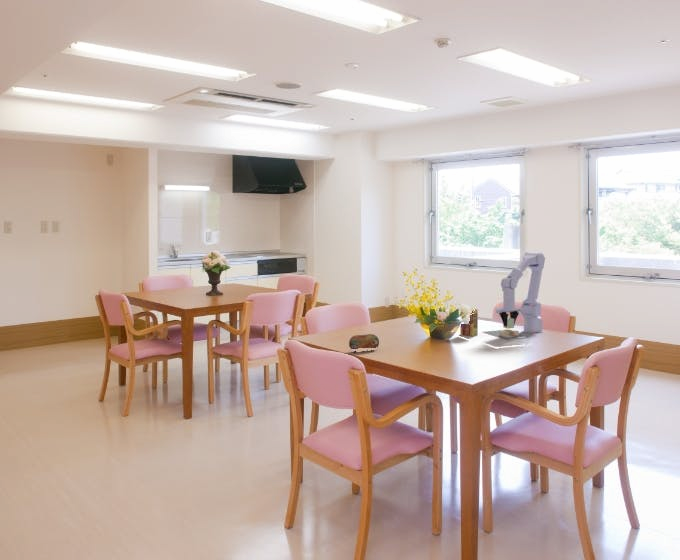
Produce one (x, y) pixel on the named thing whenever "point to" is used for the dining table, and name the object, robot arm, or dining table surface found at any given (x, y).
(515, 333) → the cream base block
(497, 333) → the slate mat
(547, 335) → the dining table surface
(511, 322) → the sage block
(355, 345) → the tin
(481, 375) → the dining table surface
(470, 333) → the candy box
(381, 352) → the dining table surface
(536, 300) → the robot arm
